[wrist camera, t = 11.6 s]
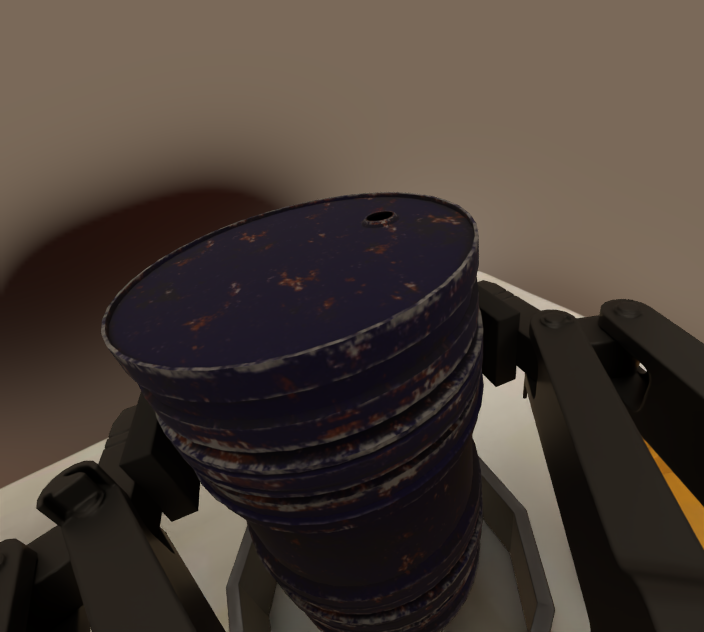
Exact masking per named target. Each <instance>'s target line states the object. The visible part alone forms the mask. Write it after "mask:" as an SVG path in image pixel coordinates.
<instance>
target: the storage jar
mask: <svg viewBox="0 0 704 632" xmlns="http://www.w3.org/2000/svg"><path fill="white" fill-rule="evenodd" d="M478 237H479V236H478V230H477V225H476V222H475V221H474V219H473V218H472V216H471V215H470V214H469V213H468V212H467V211H466V210H464V209H463V208H461V207H460V206H459V205H456V204H454V203H452V202H450V201H447V200H444V199H440V198H437V197H433V196H427V195H421V194H413V193H390V192H388V193H385V192H384V193H382V192H381V193H363V194H354V195H345V196H338V197H331V198H325V199H320V200H315V201H309V202H305V203H300V204H296V205H292V206H288V207H284V208H281V209H277V210H273V211H270V212H266V213H263V214H260V215H257V216H254V217H251V218H248V219H245V220H242V221H240V222H237V223H234V224H231V225H229V226H226V227H224V228H221V229H219V230H216V231H214V232H212V233H209V234H207V235H205V236H203V237H201V238H198V239H196V240H194V241H193V242H190V243H188V244H186V245H184V246H183V247H180V248H178V249H177V250H175V251H173V252H172V253H170V254H168V255H167V256H165V257H163V258H161V259H160V260H159V261H157V262H155V263H154V264H152V265H151V266H150V267H148V268H147V269H145V270H144V271H143V272H141V273H140V274H139V275H137V276H136V277H135V278H134V279H132V280H131V281H130V282H129V283H128V284H127V285H126V286H125V287H124V288H123V289H122V290H121V291H120V292H119V293H118V294H117V295H116V297H115V298H114V299H113V301H112V302H111V303H110V305H109V306H108V308H107V311H106V313H105V315H104V317H103V319H102V329H101V334H102V337H103V339H104V341H105V343H106V346H107V348H108V349H109V350H110V351H111V353H112V354H113V356H114V357H115V358H116V359H117V361H118V362H119V364H120V365H121V366H122V368H123V369H124V370H125V372H126V373H127V374H128V375H129V376H130V377H131V378H132V379H133V380H135V381H136V382H137V383H138V385H139V387H140V389H141V391H142V393H143V395H144V397H145V399H146V400H147V401H148V403H149V404H150V405H151V407H152V408H153V409H154V411H155V412H156V418H157V420H158V422H159V424H160V426H161V428H162V430H163V431H164V433H165V435H166V436H167V437H168V438H169V439H170V441H171V443H172V444H173V445H174V447H175V448H176V449H177V451H178V452H179V453H180V454H181V456H182V457H183V458H184V459H185V461H186V462H187V463H188V464H189V465H190V466H191V467H192V468H193V469H194V471H195V473H196V475H197V477H198V479H199V480H200V482H201V484H202V485H203V486H204V487H205V488H206V489H207V490H208V492H209V493H210V494H211V495H212V496H213V497H214V498H215V499H216V500H218V501H219V502H221V503H222V504H224V505H225V506H227V507H228V509H230V510H232V511H233V512H235V513H236V514H238V515H239V516H241V517H243V518H244V519H246V520H247V526H248V529H249V532H250V535H251V538H252V541H253V544H254V547H255V549H256V552H257V555H258V556H259V558H260V560H261V561H262V563H263V565H264V566H265V568H266V570H267V571H268V572H269V573H270V574H271V575H272V577H273V578H274V579H275V580H276V581H277V582H278V584H279V585H280V586H281V588H282V589H283V590H284V592H285V593H286V594H287V595H288V596H289V597H290V599H291V600H292V601H293V602H294V603H295V604H296V605H297V606H298V608H300V609H301V610H302V611H304V612H305V614H306V615H307V616H308V617H309V618H310V620H311V621H312V622H313V623H314V624H315V625H316V626H317V627H318V629H320V630H321V631H322V632H439V631H441V630H442V629H443V628H444V627H445V626H446V625H447V624H448V623H449V622H450V621H451V620H452V619H453V618H454V617H455V615H456V614H457V612H458V611H459V609H460V608H461V606H462V605H463V604H464V602H465V601H466V599H467V596H468V594H469V592H470V590H471V587H472V585H473V583H474V579H475V575H476V571H477V567H478V562H479V550H480V538H481V530H482V519H483V500H482V479H481V467H480V463H479V457H478V454H477V450H476V446H475V443H474V440H473V438H472V433H473V431H474V428H475V425H476V422H477V419H478V413H479V410H480V408H481V403H482V395H483V387H484V384H483V375H482V361H483V324H482V316H481V311H480V309H479V290H478V283H477V277H476V276H477V271H478V266H479V249H478V248H479V246H478V245H479V244H478V243H479V239H478Z"/></svg>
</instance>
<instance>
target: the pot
mask: <svg viewBox="0 0 704 632" xmlns="http://www.w3.org/2000/svg"><path fill="white" fill-rule="evenodd" d="M478 457H479V456H478ZM479 463H480V467H481V479H482V500H483V519H484V520H485V522H486V523H487V524H488V525H489V527H490V528H491V529H492V531H493V532H494V533H495V535H496V536H497V537H498V539H499V540H500V541H501V543H502V544H503V545H504V546H505V548H506V549H507V550H508V552H509V553H510V556H511V560H512V565H513V569H514V573H515V578H516V582H517V586H518V591H519V595H520V600H521V604H522V608H523V613H524V617H525V622H526V626H527V630H528V632H550V631H551V627H552V622H553V618H554V613H555V607H554V604H553V600H552V597H551V593H550V590H549V586H548V583H547V580H546V576H545V573H544V569H543V566H542V562H541V559H540V555H539V552H538V548H537V545H536V541H535V538H534V535H533V531H532V528H531V524H530V521H529V517H528V514H527V511H526V509H525V508H524V506H523V505H522V504H521V503H520V502H519V501H518V500H517V499H516V498H515V496H514V495H513V494H512V493H511V492H510V491H509V490H508V489H507V487H506V486H505V485H504V484H503V483H502V482H501V481H500V480H499V479H498V477H497V476H496V475H495V474H494V473H493V472H492V471H491V470H490V468H489V467H488V466H487V465H486V464H485V463H484V462H483V461H482V459H481V458H480V457H479ZM276 584H277V581H276V580H275V579H274V578H273V577H272V575H271V574H270V573H269V572H268V571H267V570H266V568H265V566H264V565H263V563H262V561H261V560H260V558H259V556H258V555H257V552H256V549H255V547H254V544H253V541H252V538H251V535H250V532H249V529H248V526H247V528H246V531H245V534H244V537H243V539H242V542H241V545H240V548H239V551H238V554H237V557H236V560H235V563H234V566H233V569H232V571H231V574H230V577H229V580H228V583H227V586H226V594H227V606H228V617H229V629H230V632H271V629H270V623H269V612H270V608H271V604H272V600H273V596H274V592H275V588H276Z"/></svg>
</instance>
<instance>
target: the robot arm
mask: <svg viewBox="0 0 704 632" xmlns="http://www.w3.org/2000/svg"><path fill="white" fill-rule="evenodd" d="M477 283H478V290H479V309H480V311H481V316H482V324H483V361H482V374H483V375H484V376H485V377H486V378H487V379H488V380H489V381H490V382H491V383H492V384H493V385H495V386H496V387H497V386H500V385H502V384H505V383H507V382H509V381H512V380H514V379H515V378H516V365H517V366H518V367H519V368H520V369H521V370H522V371H524V372H525V379H524V390H523V398H527V393H528V397H529V401H530V404H531V408H532V412H533V415H534V419H535V423H536V426H537V430H538V434H539V437H540V441H541V445H542V448H543V452H544V456H545V459H546V463H547V467H548V470H549V474H550V478H551V481H552V485H553V488H554V492H555V496H556V499H557V503H558V507H559V510H560V514H561V518H562V521H563V525H564V529H565V532H566V536H567V540H568V543H569V547H570V551H571V554H572V558H573V562H574V565H575V569H576V573H577V576H578V580H579V584H580V587H581V591H582V595H583V598H584V602H585V606H586V609H587V613H588V617H589V622H590V628H591V632H704V549H703V547H702V545H701V544H700V542H699V540H698V538H697V536H696V534H695V533H694V531H693V529H692V527H691V525H690V524H689V522H688V520H687V518H686V516H685V514H684V513H683V511H682V509H681V507H680V505H679V504H678V502H677V500H676V498H675V496H674V494H673V493H672V491H671V489H670V487H669V485H668V484H667V482H666V480H665V478H664V476H663V474H662V473H661V471H660V469H659V467H658V465H657V464H656V462H655V460H654V458H653V456H652V454H651V453H650V451H649V449H648V447H647V445H646V444H645V442H644V440H645V441H646V442H647V443H648V444H649V445H650V447H651V448H652V449H653V450H654V451H655V452H656V453H657V455H658V456H659V457H660V458H661V459H662V460H663V461H664V462H665V464H666V465H667V466H668V467H669V468H670V469H671V470H672V472H673V473H674V474H675V475H676V476H677V477H678V478H679V479H680V481H681V482H682V483H683V484H684V485H685V486H686V487H687V489H688V490H689V491H690V492H691V493H692V494H693V495H694V496H695V498H696V499H697V500H698V501H699V502H700V503H701V504H702V506H703V507H704V344H703V343H702V342H700V341H699V340H698V339H696V338H695V337H693V336H692V335H690V334H689V333H687V332H686V331H685V330H683V329H682V328H680V327H679V326H677V325H676V324H674V323H673V322H671V321H670V320H669V319H667V318H666V317H664V316H663V315H661V314H660V313H658V312H657V311H655V310H654V309H653V308H651V307H649V306H647V305H646V304H643V303H641V302H637V301H633V300H629V299H628V300H626V299H618V300H611V301H608V302H605V303H604V304H603V305H602V306H601V310H600V314H599V316H592V317H584V318H575V317H574V316H573V315H571V314H569V313H567V312H564V311H559V310H542V311H540V310H539V309H537V308H535V307H534V306H532V305H530V304H529V303H527V302H525V301H524V300H522V299H520V298H519V297H517V296H514V294H512V293H510V292H509V291H506V289H504V288H502V287H501V286H499V285H497V284H495V283H491V282H488V281H484V280H483V281H480V282H477ZM640 363H641V364H642V365H643V366H644V367H645V368H646V370H647V372H646V371H645V370H643V369H642V368H641V367H640V366H639V364H640ZM643 439H644V440H643ZM199 490H200V480H199V479H198V477H197V475H196V473H195V471H194V469H193V468H192V467H191V466H190V465H189V464H188V463H187V462H186V461H185V459H184V458H183V457H182V456H181V454H180V453H179V452H178V451H177V449H176V448H175V447H174V445H173V444H172V443H171V441H170V439H169V438H168V437H167V436H166V435H165V433H164V431H163V430H162V428H161V426H160V424H159V422H158V420H157V418H156V412H155V411H154V409H153V408H152V407H151V405H150V404H149V403H148V401H147V400H146V399H145V397H144V395H143V393H142V391H141V394H140V397H139V400H138V404H137V405H136V406H133V407H130V408H127V409H125V410H123V411H122V413H121V414H120V415H119V417H118V418H117V419H116V420H115V422H114V423H113V425H112V428H111V431H110V433H109V439H107V442H106V445H105V449H104V450H103V453H102V456H101V458H100V461H99V464H97V463H95V462H94V461H83V462H80V463H77V464H74V465H72V466H71V467H69V468H67V469H65V470H64V471H62V472H61V473H60V474H58V475H57V476H56V477H55V478H54V479H52V480H51V481H50V483H49V484H48V485H47V486H46V487H45V488H44V489H43V491H42V492H41V494H40V496H39V498H38V500H37V507H36V509H38V510H39V511H40V512H41V513H43V514H44V515H45V516H47V517H48V518H49V519H51V520H52V521H53V522H55V523H56V524H57V526H56V527H54V528H53V529H51V530H50V531H48V532H46V533H45V534H43V535H42V536H40V537H39V538H37V539H35V540H34V541H32V542H31V543H29V544H28V545H25V544H23V543H22V542H20V541H19V540H17V539H7V540H4V541H2V542H0V632H90V627H91V630H92V632H226V631H225V630H224V628H223V626H222V625H221V623H220V621H219V620H218V618H217V616H216V615H215V613H214V612H213V610H212V608H211V607H210V605H209V603H208V602H207V600H206V598H205V597H204V595H203V593H202V592H201V590H200V588H199V587H198V585H197V583H196V582H195V580H194V578H193V577H192V575H191V573H190V572H189V570H188V568H187V567H186V565H185V563H184V562H183V560H182V558H181V557H180V555H179V553H178V552H177V550H176V548H175V547H174V545H173V543H172V542H171V540H170V538H169V537H168V535H167V533H166V532H165V531H164V530H163V529H162V528H161V527H160V522H161V515H162V512H163V513H164V514H165V515H166V516H167V517H168V518H169V519H170V521H171V522H172V521H175V520H177V519H180V518H182V517H185V516H187V515H189V514H192V513H194V512H197V511H198V506H199Z"/></svg>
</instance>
